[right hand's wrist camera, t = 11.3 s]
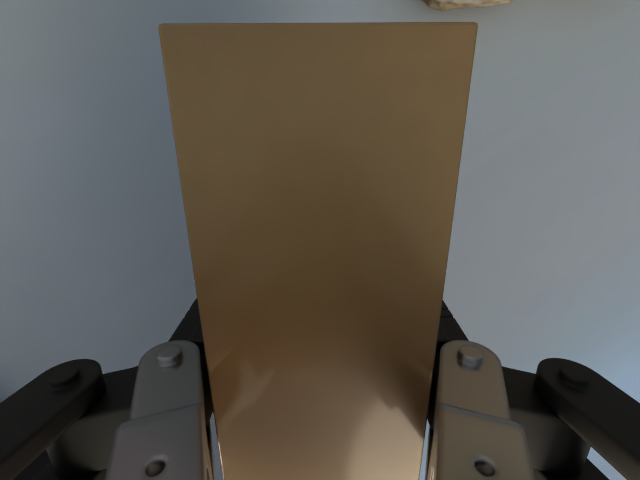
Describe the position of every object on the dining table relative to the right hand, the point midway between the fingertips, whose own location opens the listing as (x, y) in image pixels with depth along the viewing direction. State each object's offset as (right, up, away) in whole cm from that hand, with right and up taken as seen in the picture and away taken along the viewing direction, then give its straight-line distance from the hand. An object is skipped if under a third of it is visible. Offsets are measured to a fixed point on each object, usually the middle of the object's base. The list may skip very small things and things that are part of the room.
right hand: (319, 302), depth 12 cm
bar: (0, -29, +13) cm, 31 cm away
